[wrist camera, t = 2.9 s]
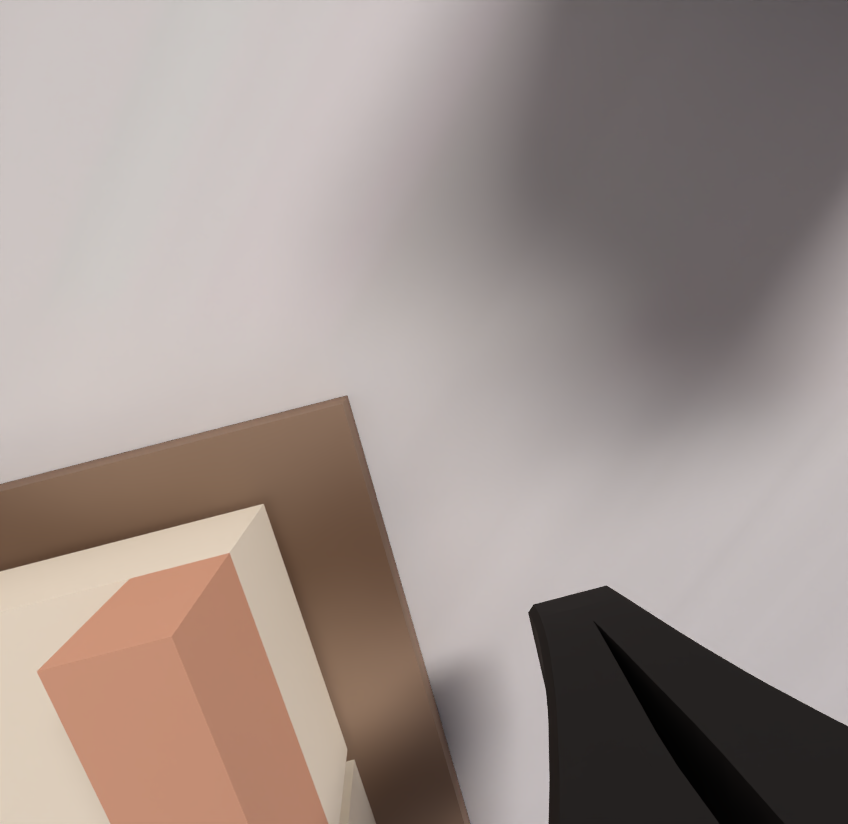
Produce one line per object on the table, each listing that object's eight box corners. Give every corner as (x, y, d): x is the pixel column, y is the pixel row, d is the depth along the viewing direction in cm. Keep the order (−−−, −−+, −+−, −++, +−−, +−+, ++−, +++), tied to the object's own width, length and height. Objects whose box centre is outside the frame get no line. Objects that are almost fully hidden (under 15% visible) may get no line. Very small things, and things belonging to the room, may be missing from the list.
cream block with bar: (347, 749, 11) (319, 998, 7) (-5, 841, 11) (-235, 1146, 7) (263, 503, 10) (171, 637, 6) (-135, 606, 9) (-511, 813, 6)
